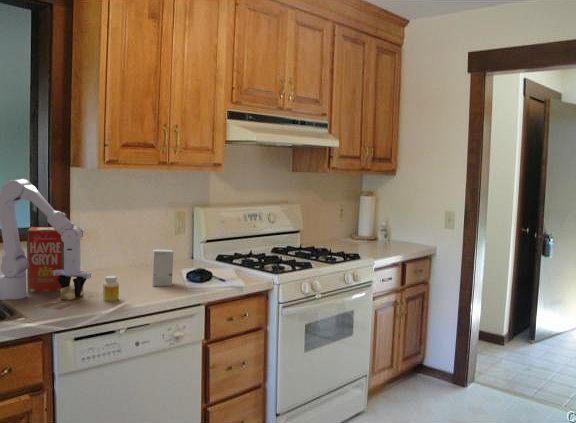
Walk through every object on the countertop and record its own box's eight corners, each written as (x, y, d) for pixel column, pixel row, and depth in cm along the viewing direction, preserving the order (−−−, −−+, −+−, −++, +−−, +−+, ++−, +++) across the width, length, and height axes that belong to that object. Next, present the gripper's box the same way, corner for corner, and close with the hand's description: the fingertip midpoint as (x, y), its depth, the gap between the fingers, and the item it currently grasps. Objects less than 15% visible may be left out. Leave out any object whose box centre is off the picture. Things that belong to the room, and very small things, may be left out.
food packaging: (26, 294, 202) (25, 229, 200) (31, 289, 211) (30, 226, 209) (64, 293, 206) (63, 229, 203) (67, 288, 215) (67, 226, 212)
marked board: (31, 309, 184) (31, 306, 184) (67, 295, 203) (67, 292, 203) (60, 312, 181) (60, 309, 181) (93, 298, 201) (93, 295, 201)
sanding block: (60, 299, 193) (60, 288, 193) (74, 294, 201) (73, 284, 201) (70, 300, 192) (70, 289, 192) (83, 295, 200) (83, 285, 200)
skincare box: (152, 286, 222) (152, 251, 220) (151, 283, 228) (152, 248, 226) (173, 285, 224) (173, 251, 223) (171, 282, 230) (172, 248, 229)
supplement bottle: (100, 302, 196) (100, 276, 195) (113, 299, 200) (114, 274, 199) (107, 305, 192) (107, 279, 191) (121, 302, 196) (121, 277, 195)
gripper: (47, 260, 193) (47, 296, 194) (83, 263, 190) (83, 300, 191) (59, 256, 200) (60, 292, 201) (94, 259, 197) (94, 295, 198)
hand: (72, 296), depth 197 cm, fingers closed on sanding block, 4 cm apart
